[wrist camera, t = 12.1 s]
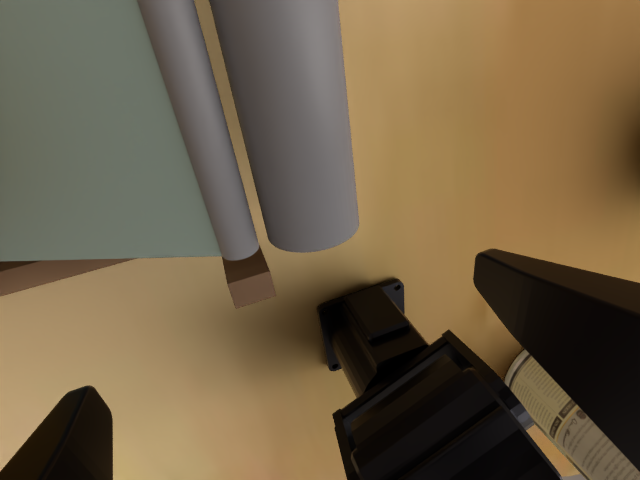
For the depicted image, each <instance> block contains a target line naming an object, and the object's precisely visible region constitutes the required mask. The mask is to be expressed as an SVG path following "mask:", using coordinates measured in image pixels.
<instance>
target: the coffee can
mask: <svg viewBox="0 0 640 480" xmlns="http://www.w3.org/2000/svg"><path fill="white" fill-rule="evenodd" d="M504 383H505V384H506V385H507V386H508V387H509V389H510V390H511V391H512V392H513V393H514V395H515V396H516V397H517V398H518V400H519V401H520V402H521V403H522V405H523V406H524V407H525V409H526V410H527V412H528V413H529V415H530V416H531V418H532V420H533V422H534V424H535V425H536V426H537V427H538V428H539V429H540V430H541V431H542V432H543V433H544V435H545V436H546V437H547V438H548V439H549V440H550V441H551V442H552V443H553V444H554V445H555V446H556V448H557V449H558V450H559V451H560V452H561V453H562V454H563V455H564V456H565V457H566V458H567V459H568V461H569V462H570V463H571V464H572V465H573V466H574V467H575V468H576V469H577V470H578V471H579V472H580V473H581V474H582V475H583V477H584V478H585V479H586V480H640V472H639V471H638V470H637V469H636V468H635V467H634V465H633V464H632V463H631V462H630V461H629V460H628V459H627V458H626V457H625V456H624V455H623V454H622V453H621V452H620V450H619V449H618V448H617V447H616V446H615V445H614V444H613V443H612V442H611V441H610V440H609V439H608V438H607V437H606V435H605V434H604V433H603V432H602V431H601V430H600V429H599V428H598V427H597V426H596V425H595V424H594V423H593V421H592V420H591V419H590V418H589V417H588V416H587V415H586V414H585V413H584V412H583V411H582V410H581V409H580V408H579V406H578V405H577V404H576V403H575V402H574V401H573V400H572V399H571V398H570V397H569V396H568V395H567V394H566V393H565V391H564V390H563V389H562V388H561V387H560V386H559V385H558V384H557V383H556V382H555V381H554V380H553V379H552V378H551V376H550V375H549V374H548V373H547V372H546V371H545V370H544V369H543V368H542V367H541V366H540V365H539V364H538V363H537V361H536V360H535V359H534V358H533V357H532V356H531V355H530V354H529V353H528V352H527V351H526V350H525V349H524V350H523V351H522V352H521V353H520V354H519V355H518V356H517V357H516V359H515V360H514V362H513V363H512V365H511V366H510V368H509V370H508V372H507V374H506V376H505V381H504Z"/></svg>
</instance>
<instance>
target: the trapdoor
mask: <svg viewBox="0 0 640 480" xmlns="http://www.w3.org/2000/svg"><path fill="white" fill-rule="evenodd" d="M209 2H210V6H211V10H212V14H213V18H214V22H215V26H216V30H217V34H218V38H219V42H220V46H221V50H222V54H223V58H224V62H225V66H226V70H227V74H228V79H229V83H230V87H231V91H232V95H233V99H234V103H235V107H236V111H237V115H238V119H239V123H240V127H241V131H242V135H243V139H244V143H245V147H246V151H247V155H248V159H249V163H250V167H251V171H252V175H253V179H254V183H255V187H256V191H257V195H258V199H259V203H260V207H261V211H262V215H263V219H264V224H265V228H266V232H267V236H268V239H269V241H270V242H271V244H273V245H274V246H275V247H277V248H279V249H281V250H285V251H289V252H300V253H305V252H315V251H321V250H325V249H329V248H332V247H334V246H337V245H339V244H341V243H343V242H345V241H347V240H348V239H349V238H351V237H352V236H353V235H354V234H355V233H356V231H357V229H358V227H359V216H358V205H357V195H356V184H355V174H354V163H353V153H352V143H351V132H350V122H349V111H348V101H347V90H346V80H345V70H344V59H343V49H342V38H341V28H340V17H339V7H338V0H209ZM258 249H259V243H258V239H257V236H256V232H255V228H254V224H253V221H252V217H251V213H250V209H249V206H248V202H247V198H246V194H245V191H244V187H243V183H242V179H241V176H240V172H239V168H238V164H237V160H236V157H235V153H234V149H233V145H232V142H231V138H230V134H229V130H228V127H227V123H226V119H225V115H224V112H223V108H222V104H221V100H220V97H219V93H218V89H217V85H216V82H215V78H214V74H213V70H212V67H211V63H210V59H209V55H208V52H207V48H206V44H205V40H204V37H203V33H202V29H201V25H200V22H199V18H198V14H197V10H196V7H195V3H194V0H0V261H40V260H81V259H123V258H164V257H206V256H222V257H223V258H224V259H227V260H232V261H234V260H241V259H245V258H247V257H250V256H251V255H253V254H254V253H255V252H257V250H258Z"/></svg>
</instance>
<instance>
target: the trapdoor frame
mask: <svg viewBox="0 0 640 480" xmlns="http://www.w3.org/2000/svg"><path fill="white" fill-rule="evenodd" d="M133 259H136V258H123V259H81V260H40V261H0V296H3V295H7V294H11V293H14V292H18V291H21V290H25V289H28V288H32V287H36V286H39V285H43V284H46V283H50V282H54V281H57V280H61V279H64V278H68V277H72V276H75V275H79V274H82V273H86V272H90V271H93V270H97V269H100V268H104V267H107V266H111V265H115V264H118V263H122V262H125V261H129V260H133ZM222 259H223V264H224V269H225V274H226V279H227V284H228V287H229V290H230V293H231V296H232V299H233V302H234V305H235V308H236V309H237V308H240V307H243V306H246V305H249V304H252V303H255V302H258V301H261V300H264V299H267V298H271V297H274V296H276V294H275V290H274V286H273V282H272V278H271V274H270V271H269V268H268V266H267V263H266V261H265V258H264V255H263V253H262V250H261V248H260V245H259V249H258V250H257V252H255V253H254V254H253V255H251V256H250V257H247V258H245V259H241V260H234V261H232V260H227V259H224V258H223V257H222Z"/></svg>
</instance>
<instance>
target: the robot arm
mask: <svg viewBox="0 0 640 480" xmlns="http://www.w3.org/2000/svg"><path fill="white" fill-rule="evenodd" d="M473 280H474V284H475V287H476V288H477V290H478V291H479V293H480V294H481V295H482V297H483V298H484V299H485V300H486V302H487V303H488V304H489V306H490V307H491V308H492V310H493V311H494V312H495V314H496V315H497V316H498V317H499V319H500V320H501V321H502V323H503V324H504V325H505V327H506V328H507V329H508V330H509V332H510V333H511V334H512V335H513V336H514V338H515V339H516V340H517V341H518V342H519V343H520V344H521V345H522V346H523V348H524V349H525V350H526V351H527V352H528V353H529V354H530V355H531V356H532V357H533V358H534V359H535V360H536V361H537V363H538V364H539V365H540V366H541V367H542V368H543V369H544V370H545V371H546V372H547V373H548V374H549V375H550V376H551V378H552V379H553V380H554V381H555V382H556V383H557V384H558V385H559V386H560V387H561V388H562V389H563V390H564V391H565V393H566V394H567V395H568V396H569V397H570V398H571V399H572V400H573V401H574V402H575V403H576V404H577V405H578V406H579V408H580V409H581V410H582V411H583V412H584V413H585V414H586V415H587V416H588V417H589V418H590V419H591V420H592V421H593V423H594V424H595V425H596V426H597V427H598V428H599V429H600V430H601V431H602V432H603V433H604V434H605V435H606V437H607V438H608V439H609V440H610V441H611V442H612V443H613V444H614V445H615V446H616V447H617V448H618V449H619V450H620V452H621V453H622V454H623V455H624V456H625V457H626V458H627V459H628V460H629V461H630V462H631V463H632V464H633V465H634V467H635V468H636V469H637V470H638V471H639V472H640V283H637V282H633V281H628V280H624V279H620V278H616V277H612V276H607V275H603V274H599V273H595V272H590V271H586V270H582V269H578V268H573V267H569V266H565V265H561V264H557V263H552V262H548V261H544V260H540V259H535V258H531V257H527V256H523V255H519V254H514V253H510V252H506V251H502V250H497V249H488V250H485V251H483V252H480V253H478V254H477V255H476V258H475V267H474V277H473ZM396 285H397V286H396ZM395 286H396V287H395ZM326 309H327V310H326ZM324 310H326V311H325V312H323V311H324ZM317 313H318V319H319V324H320V329H321V334H322V340H323V345H324V350H325V355H326V361H327V365H328V367H329V369H330V370H331V371H336V370H339V369H343V371H344V373H345V375H346V377H347V379H348V381H349V383H350V385H351V387H352V389H353V391H354V393H355V395H356V397H357V398H356V399H355V400H354V401H352V402H351V403H350V404H348V405H347V406H345V407H344V408H343V409H339V410H337V411H336V412H335V413H333V419H334V423H335V432H336V436H337V440H338V444H339V448H340V452H341V456H342V461H343V465H344V469H345V473H346V477H347V480H562V477H561V475H560V474H559V472H558V471H557V469H556V468H555V467H554V466H553V464H552V463H551V462H550V461H549V459H548V458H547V457H546V456H545V454H544V453H543V452H542V451H541V449H540V448H539V447H538V445H537V444H536V443H535V442H534V440H533V439H532V438H531V437H530V435H529V434H528V433H527V432H526V430H527V429H529V428H530V427H531V426H533V425H534V422H533V420H532V418H531V416H530V415H529V413H528V412H527V410H526V409H525V407H524V406H523V405H522V403H521V402H520V401H519V400H518V398H517V397H516V396H515V395H514V393H513V392H512V391H511V390H510V389H509V387H508V386H507V385H506V384H505V383H504V382H503V381H502V379H501V378H500V377H499V376H498V375H497V374H496V373H495V372H494V371H493V370H492V369H491V368H490V367H489V366H488V365H487V364H486V363H485V362H484V361H483V360H482V359H480V358H479V357H478V356H477V355H476V354H475V353H474V352H473V351H472V350H471V349H470V348H468V347H467V346H466V345H465V344H464V343H463V342H462V341H461V340H460V339H459V338H457V337H456V336H455V335H454V334H453V333H452V332H451V331H450V330H447V331H446V332H445V333H443V334H442V337H440V338H439V339H438V340H436V341H435V342H434V343H432V344H431V345H429V344H428V343H427V342H426V341H425V339H424V338H423V337H422V336H421V335H420V333H419V332H418V331H417V330H416V329H415V327H414V326H413V325H412V324H411V322H410V321H409V320H408V319H407V317H406V316H405V315H404V285H403V283H402V282H401V281H400V280H399V279H394V280H391V281H388V282H385V283H382V284H379V285H376V286H373V287H370V288H367V289H364V290H361V291H358V292H355V293H352V294H349V295H346V296H343V297H340V298H337V299H334V300H332V301H329V302H326V303H323V304H321V305H320V306H319V307H318V308H317ZM0 480H113V420H112V414H111V411H110V409H109V407H108V406H107V405H106V403H105V402H104V400H103V399H102V398H101V396H100V395H99V393H98V392H97V391H96V389H95V388H94V387H93V386H84V387H81V388H78V389H75V390H72V391H70V392H68V393H67V394H66V395H65V396H64V397H63V398H62V399H61V400H60V401H59V403H58V404H57V405H56V406H55V407H54V408H53V410H52V411H51V412H50V413H49V414H48V416H47V417H46V418H45V419H44V420H43V422H42V423H41V424H40V425H39V426H38V427H37V429H36V430H35V431H34V432H33V433H32V435H31V436H30V437H29V438H28V439H27V441H26V442H25V443H24V444H23V445H22V446H21V448H20V449H19V450H18V451H17V452H16V454H15V455H14V456H13V457H12V458H11V460H10V461H9V462H8V463H7V464H6V465H5V467H4V468H3V469H2V470H1V471H0Z"/></svg>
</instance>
